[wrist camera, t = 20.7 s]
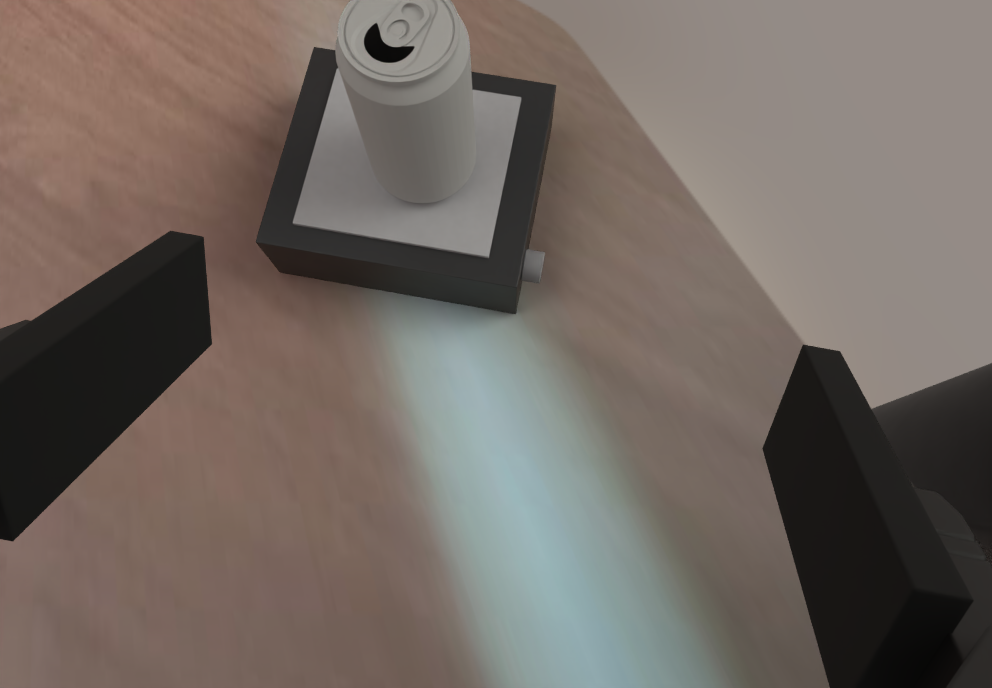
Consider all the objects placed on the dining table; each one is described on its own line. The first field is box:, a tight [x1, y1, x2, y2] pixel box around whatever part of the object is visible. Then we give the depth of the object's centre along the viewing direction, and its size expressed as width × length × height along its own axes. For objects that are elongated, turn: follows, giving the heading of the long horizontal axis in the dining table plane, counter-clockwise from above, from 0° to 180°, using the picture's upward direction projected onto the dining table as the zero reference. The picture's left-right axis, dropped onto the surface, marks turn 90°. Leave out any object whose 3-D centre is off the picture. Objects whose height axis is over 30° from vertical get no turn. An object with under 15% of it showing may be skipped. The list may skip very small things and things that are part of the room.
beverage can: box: [335, 0, 476, 203], centre depth 39 cm, size 6×6×12 cm
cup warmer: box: [256, 47, 556, 314], centre depth 47 cm, size 17×14×5 cm
